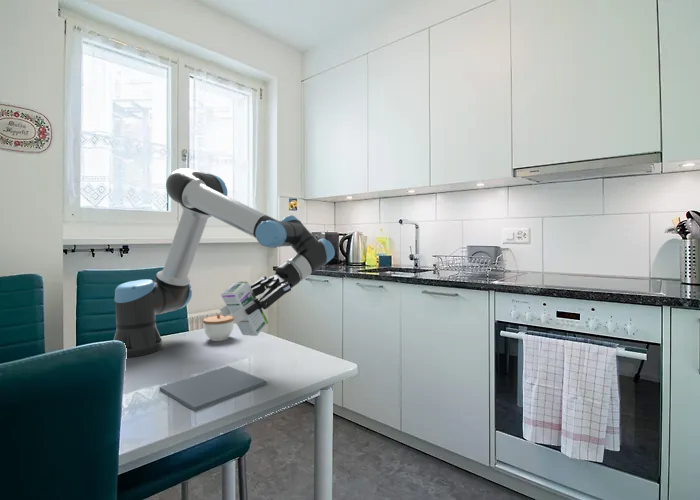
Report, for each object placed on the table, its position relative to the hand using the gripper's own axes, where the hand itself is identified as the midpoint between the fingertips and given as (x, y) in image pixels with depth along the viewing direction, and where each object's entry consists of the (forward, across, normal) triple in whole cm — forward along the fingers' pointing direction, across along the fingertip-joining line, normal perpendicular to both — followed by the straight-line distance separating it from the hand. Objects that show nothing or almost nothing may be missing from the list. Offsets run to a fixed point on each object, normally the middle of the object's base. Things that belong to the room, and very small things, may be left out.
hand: (228, 315), depth 101 cm
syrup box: (-5, 0, -9) cm, 10 cm away
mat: (+13, -6, -11) cm, 18 cm away
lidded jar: (-3, +38, -24) cm, 45 cm away
